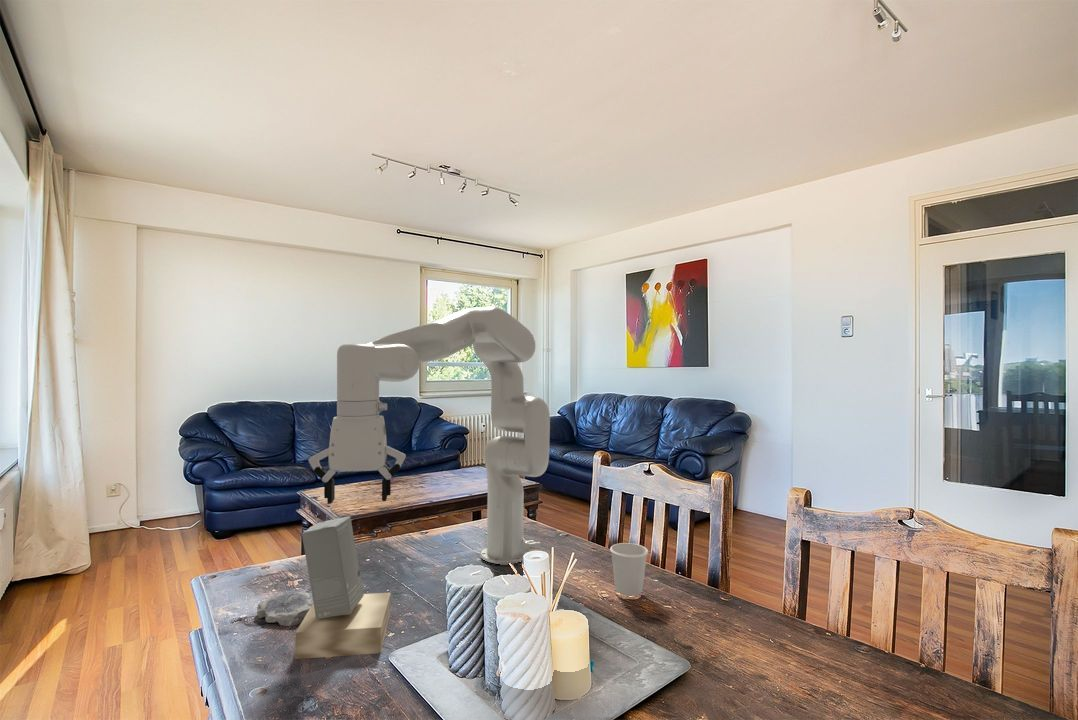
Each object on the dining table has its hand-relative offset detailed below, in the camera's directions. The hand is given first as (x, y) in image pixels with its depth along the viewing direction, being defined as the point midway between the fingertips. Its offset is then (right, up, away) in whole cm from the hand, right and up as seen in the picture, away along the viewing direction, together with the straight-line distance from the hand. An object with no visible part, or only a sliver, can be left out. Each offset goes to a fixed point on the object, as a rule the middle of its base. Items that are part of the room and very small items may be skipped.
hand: (358, 500), depth 98 cm
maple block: (-1, -25, -2) cm, 25 cm away
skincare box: (-3, -20, -2) cm, 20 cm away
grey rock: (-16, -25, +6) cm, 30 cm away
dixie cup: (+54, -26, +17) cm, 62 cm away
